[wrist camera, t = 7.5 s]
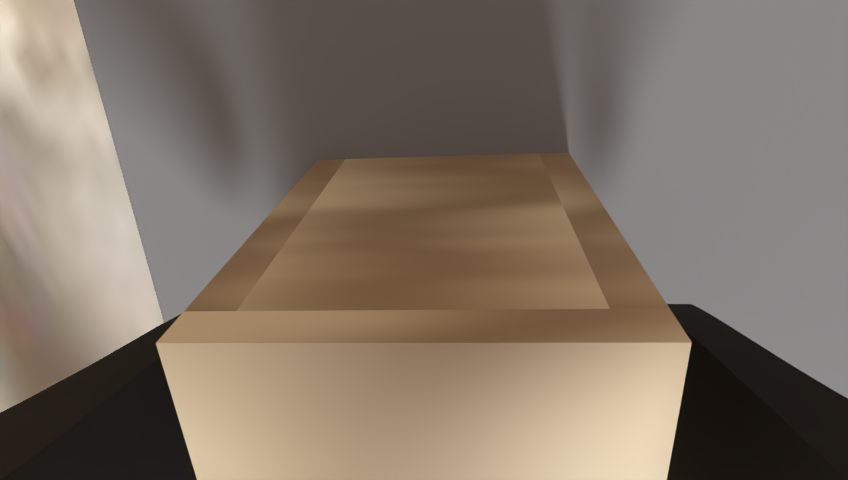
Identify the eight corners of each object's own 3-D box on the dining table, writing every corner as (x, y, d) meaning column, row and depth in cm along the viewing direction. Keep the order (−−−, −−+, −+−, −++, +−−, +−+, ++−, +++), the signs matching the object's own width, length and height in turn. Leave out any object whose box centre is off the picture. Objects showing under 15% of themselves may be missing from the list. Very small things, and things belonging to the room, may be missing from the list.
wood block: (568, 152, 11) (691, 342, 5) (556, 362, 13) (631, 671, 7) (317, 159, 11) (155, 343, 5) (344, 362, 14) (249, 653, 8)
